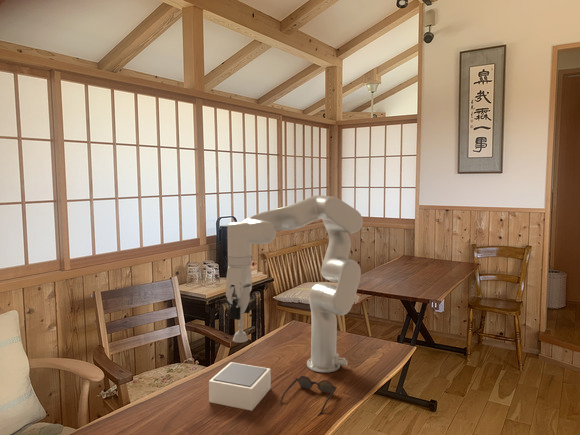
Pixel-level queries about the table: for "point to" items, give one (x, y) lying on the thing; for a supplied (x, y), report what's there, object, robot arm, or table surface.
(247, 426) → the table surface
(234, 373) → the display plinth
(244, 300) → the chalice
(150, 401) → the table surface
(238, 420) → the table surface
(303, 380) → the eyeglasses
